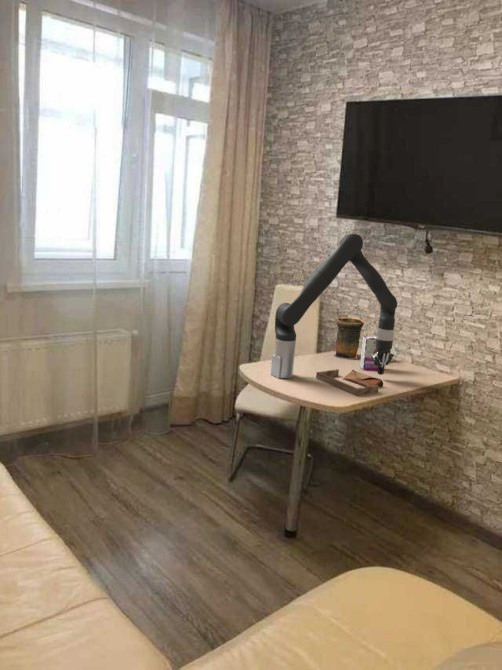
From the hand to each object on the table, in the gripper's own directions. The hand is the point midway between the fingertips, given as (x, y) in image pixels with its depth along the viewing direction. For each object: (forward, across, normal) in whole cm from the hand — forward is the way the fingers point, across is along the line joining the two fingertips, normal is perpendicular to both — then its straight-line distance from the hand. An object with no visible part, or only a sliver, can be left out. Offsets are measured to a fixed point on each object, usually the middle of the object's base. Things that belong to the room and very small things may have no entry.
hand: (380, 374), depth 259 cm
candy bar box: (+3, -10, -14) cm, 18 cm away
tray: (+2, +22, 0) cm, 22 cm away
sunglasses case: (+3, +12, 0) cm, 13 cm away
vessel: (+3, -15, -37) cm, 40 cm away
